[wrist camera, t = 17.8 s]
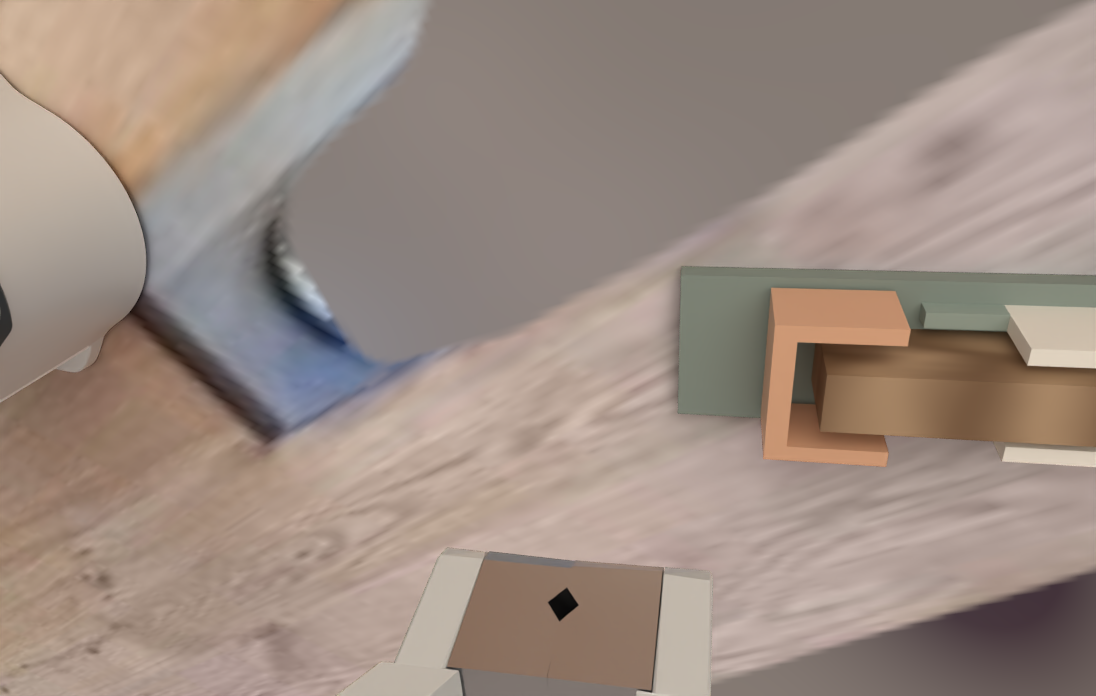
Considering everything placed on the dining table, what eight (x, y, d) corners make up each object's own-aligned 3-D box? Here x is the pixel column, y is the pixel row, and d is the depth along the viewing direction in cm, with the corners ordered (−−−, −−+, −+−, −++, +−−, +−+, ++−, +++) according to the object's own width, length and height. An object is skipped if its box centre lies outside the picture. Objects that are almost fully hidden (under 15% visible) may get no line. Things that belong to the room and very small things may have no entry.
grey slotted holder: (678, 403, 45) (673, 459, 40) (681, 266, 41) (676, 313, 37) (1089, 424, 41) (1131, 489, 37) (1137, 276, 37) (1190, 330, 33)
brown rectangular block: (811, 379, 41) (819, 431, 38) (817, 325, 40) (827, 375, 36) (1076, 390, 39) (1114, 447, 35) (1094, 334, 38) (1135, 388, 34)
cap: (760, 414, 43) (763, 459, 39) (771, 287, 39) (774, 325, 36) (873, 420, 42) (886, 466, 38) (895, 291, 38) (910, 329, 35)
